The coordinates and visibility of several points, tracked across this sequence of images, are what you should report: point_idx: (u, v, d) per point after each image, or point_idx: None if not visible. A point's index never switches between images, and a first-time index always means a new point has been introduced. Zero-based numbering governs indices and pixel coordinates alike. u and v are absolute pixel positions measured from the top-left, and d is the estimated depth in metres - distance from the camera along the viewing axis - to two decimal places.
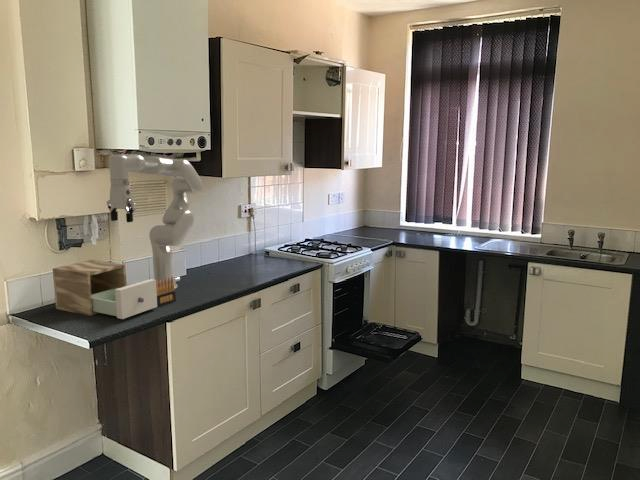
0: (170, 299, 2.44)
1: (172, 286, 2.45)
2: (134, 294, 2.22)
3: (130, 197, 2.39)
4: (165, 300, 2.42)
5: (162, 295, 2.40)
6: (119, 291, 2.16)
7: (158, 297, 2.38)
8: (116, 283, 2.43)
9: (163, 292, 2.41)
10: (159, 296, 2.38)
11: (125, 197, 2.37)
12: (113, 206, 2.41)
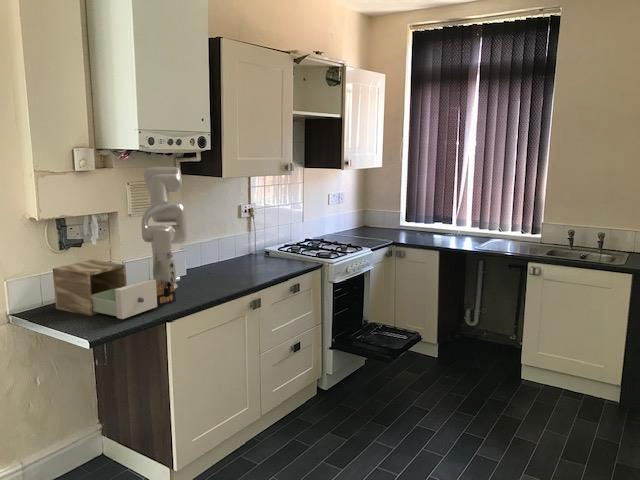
0: (170, 299, 2.44)
1: (172, 286, 2.45)
2: (134, 294, 2.22)
3: (173, 270, 2.39)
4: (165, 300, 2.42)
5: (162, 295, 2.40)
6: (119, 291, 2.16)
7: (158, 297, 2.38)
8: (116, 283, 2.43)
9: (163, 292, 2.41)
10: (159, 296, 2.38)
11: (169, 271, 2.37)
12: (156, 278, 2.40)
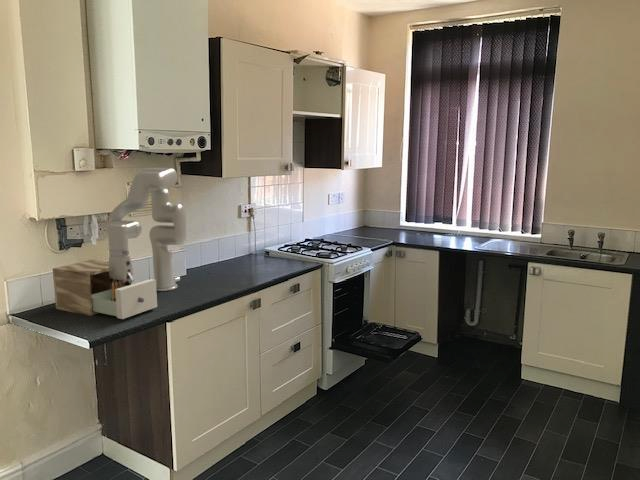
0: None
1: None
2: (134, 294, 2.22)
3: (130, 268, 2.26)
4: None
5: None
6: (119, 291, 2.15)
7: (115, 300, 2.25)
8: None
9: None
10: None
11: (125, 268, 2.24)
12: (112, 277, 2.27)
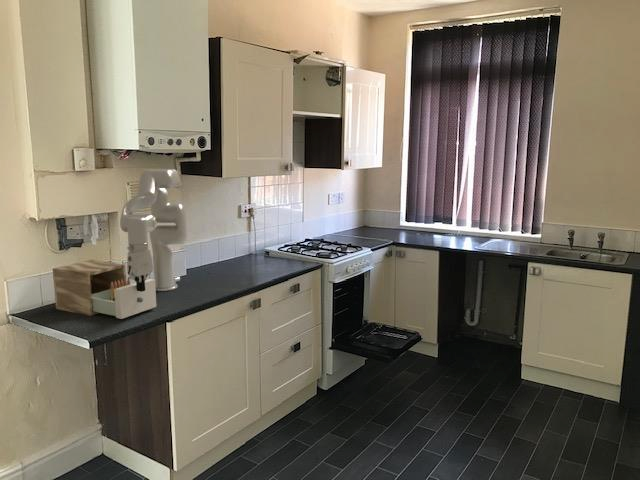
0: None
1: None
2: (133, 294, 2.22)
3: (131, 264, 2.16)
4: None
5: None
6: (118, 291, 2.16)
7: (114, 299, 2.26)
8: None
9: None
10: None
11: (127, 263, 2.18)
12: None
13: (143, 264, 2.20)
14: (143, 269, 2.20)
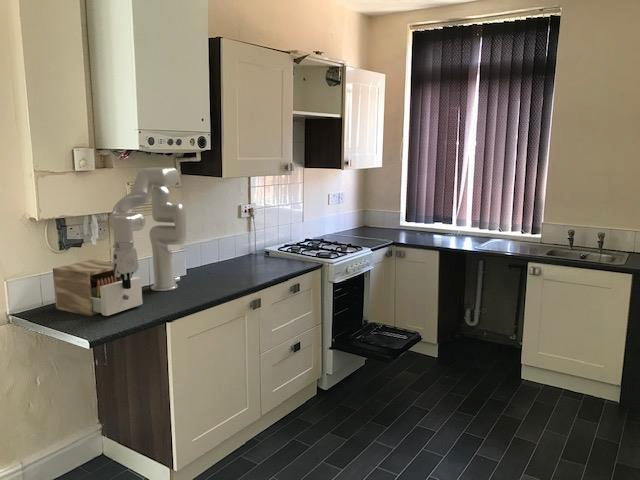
0: None
1: None
2: (119, 291, 2.26)
3: (117, 262, 2.20)
4: None
5: None
6: (104, 288, 2.20)
7: (100, 297, 2.29)
8: None
9: None
10: None
11: (113, 261, 2.22)
12: None
13: (128, 262, 2.24)
14: (129, 267, 2.24)
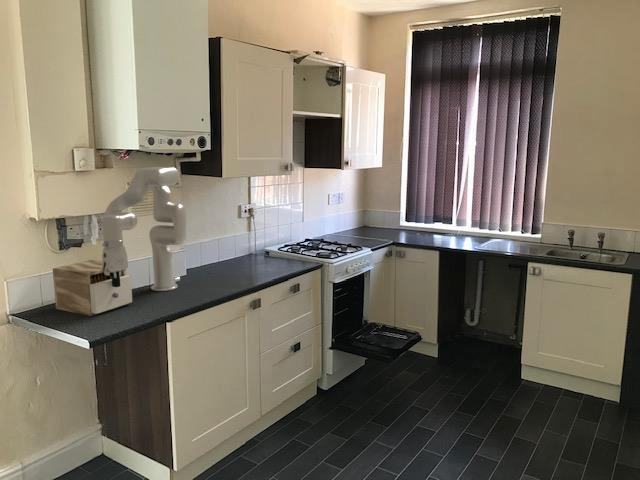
0: None
1: None
2: (108, 289, 2.29)
3: (106, 261, 2.23)
4: None
5: None
6: (93, 286, 2.23)
7: None
8: None
9: None
10: None
11: (102, 260, 2.25)
12: None
13: (118, 260, 2.26)
14: (118, 266, 2.27)
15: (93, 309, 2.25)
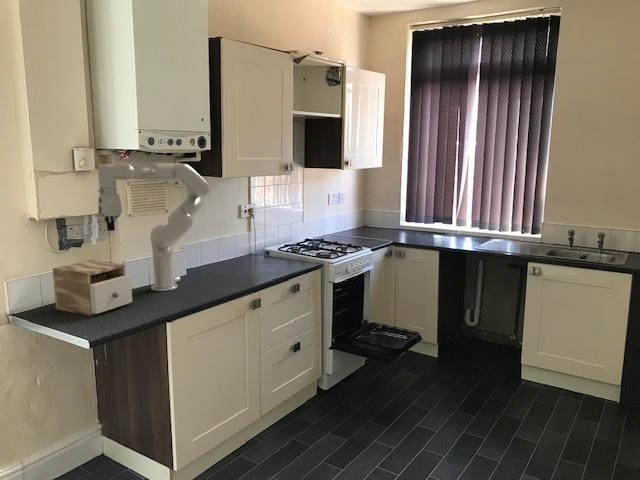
0: None
1: None
2: (108, 289, 2.29)
3: (102, 205, 2.46)
4: None
5: None
6: (93, 286, 2.22)
7: None
8: None
9: None
10: None
11: (98, 205, 2.47)
12: None
13: (112, 206, 2.49)
14: (113, 211, 2.49)
15: (93, 309, 2.25)
